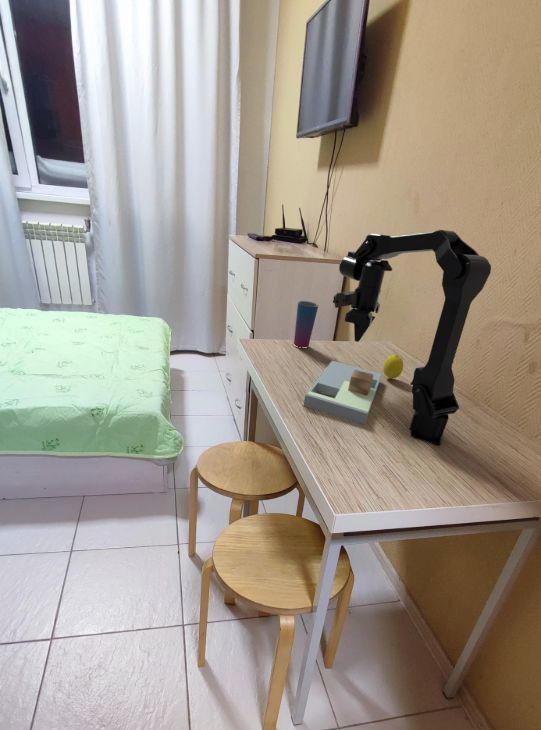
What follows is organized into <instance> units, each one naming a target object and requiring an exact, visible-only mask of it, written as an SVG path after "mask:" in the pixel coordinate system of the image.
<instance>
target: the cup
mask: <svg viewBox="0 0 541 730" xmlns="http://www.w3.org/2000/svg"><path fill="white" fill-rule="evenodd" d="M296 307H297V308H296V317H295V318H296V319H295V329H294V340H293V345H294V344H295V345H296V346H298V347H307V346H308V347H309V346H310V341H311V339H312V334H313V329H314V325H315V323H316V321H315V320H316V317H317V313H318V308H319V304H318V303H316V302H313V301H308V300H299V301H297V306H296Z"/></svg>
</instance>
